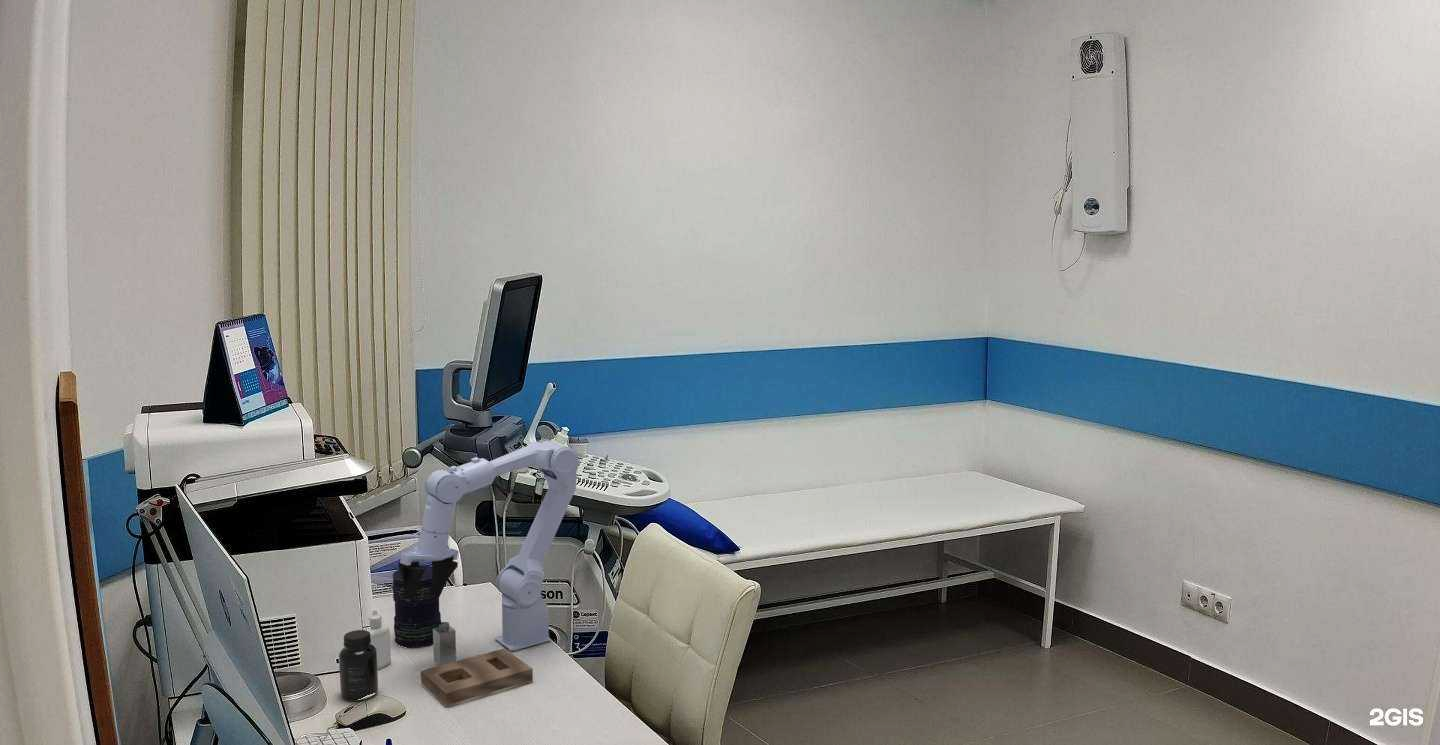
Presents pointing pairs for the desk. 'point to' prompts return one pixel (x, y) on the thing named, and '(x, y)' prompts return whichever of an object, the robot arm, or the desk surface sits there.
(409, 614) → the storage jar
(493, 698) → the desk surface
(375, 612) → the eye dropper bottle
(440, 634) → the light grey upright block
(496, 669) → the socket board
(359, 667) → the supplement bottle
